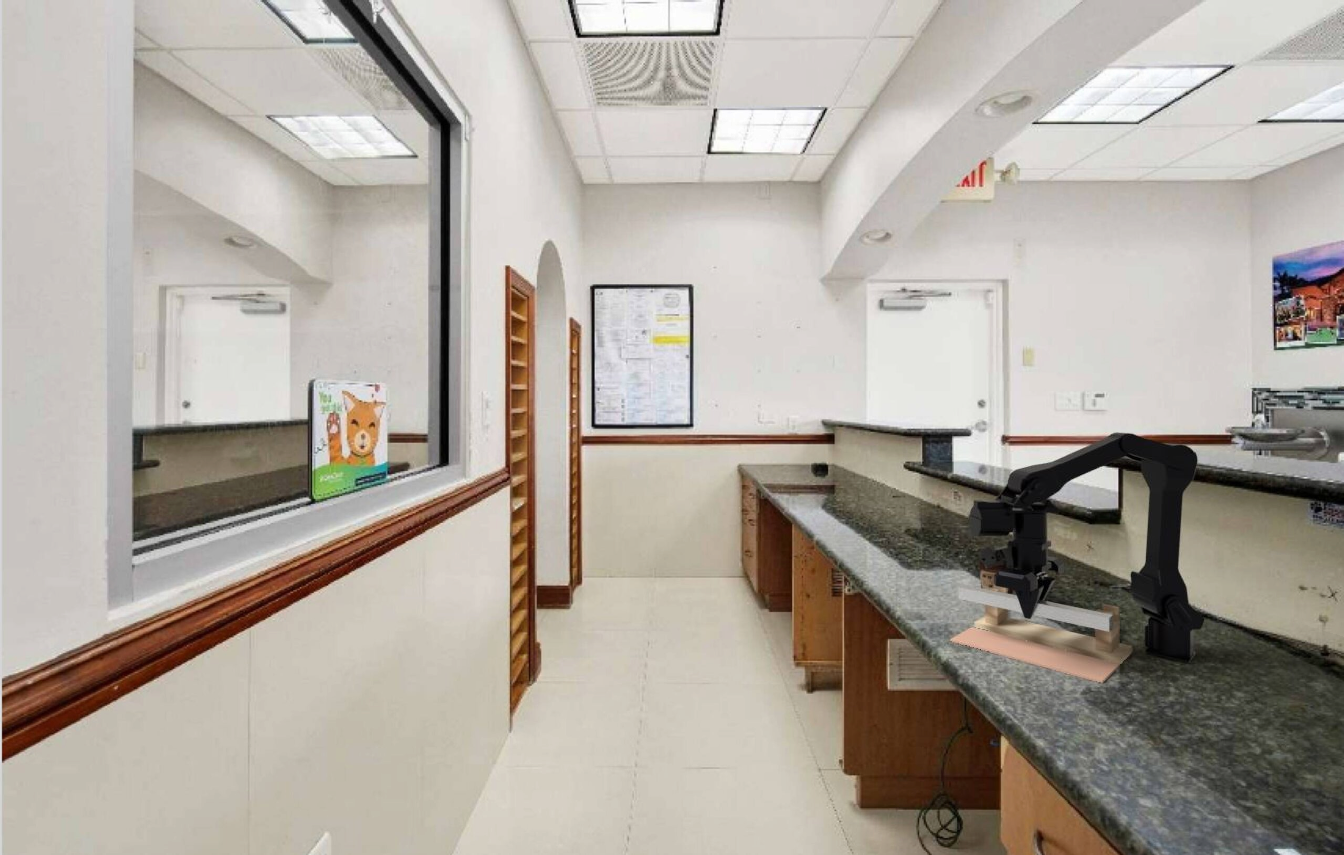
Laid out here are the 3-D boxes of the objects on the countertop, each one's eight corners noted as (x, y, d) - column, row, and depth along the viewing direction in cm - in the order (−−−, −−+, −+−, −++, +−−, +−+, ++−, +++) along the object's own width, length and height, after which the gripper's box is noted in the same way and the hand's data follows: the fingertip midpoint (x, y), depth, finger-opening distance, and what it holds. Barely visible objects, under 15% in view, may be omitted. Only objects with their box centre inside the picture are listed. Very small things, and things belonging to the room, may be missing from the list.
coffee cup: (1014, 611, 141) (1014, 555, 140) (974, 605, 146) (974, 550, 145) (1020, 601, 148) (1020, 547, 147) (982, 595, 153) (982, 543, 152)
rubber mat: (1119, 666, 111) (1119, 664, 111) (1102, 683, 104) (1102, 681, 104) (972, 628, 131) (971, 626, 131) (950, 641, 124) (950, 639, 124)
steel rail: (1113, 628, 108) (1113, 614, 108) (1109, 631, 107) (1109, 618, 107) (963, 596, 128) (963, 584, 128) (958, 598, 126) (958, 587, 126)
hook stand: (1132, 652, 117) (1132, 607, 117) (1120, 664, 112) (1120, 617, 111) (989, 618, 137) (989, 580, 136) (974, 627, 131) (973, 587, 131)
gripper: (1004, 523, 129) (1005, 596, 130) (965, 537, 117) (965, 618, 117) (1064, 530, 121) (1065, 608, 121) (1029, 546, 108) (1029, 633, 109)
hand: (1030, 616), depth 117 cm, fingers closed on steel rail, 2 cm apart
